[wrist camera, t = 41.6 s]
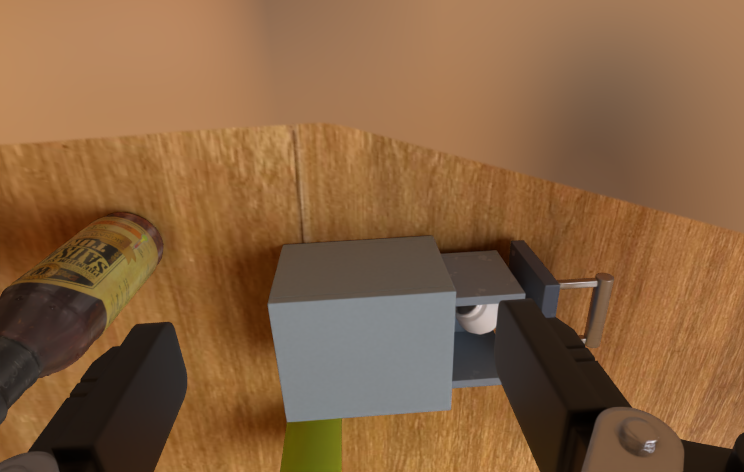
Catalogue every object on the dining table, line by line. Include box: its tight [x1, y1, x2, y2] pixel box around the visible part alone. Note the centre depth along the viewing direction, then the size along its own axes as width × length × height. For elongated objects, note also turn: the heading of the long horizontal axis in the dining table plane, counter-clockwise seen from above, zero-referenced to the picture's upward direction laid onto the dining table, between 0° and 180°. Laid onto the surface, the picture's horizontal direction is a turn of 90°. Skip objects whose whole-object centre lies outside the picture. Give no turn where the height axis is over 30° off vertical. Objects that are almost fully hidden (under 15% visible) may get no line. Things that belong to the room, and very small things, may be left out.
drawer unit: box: [267, 236, 456, 422], centre depth 40 cm, size 14×12×10 cm
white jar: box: [455, 304, 499, 334], centre depth 39 cm, size 5×3×5 cm, turn 148°
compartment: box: [441, 240, 614, 388], centre depth 40 cm, size 19×10×8 cm, turn 92°
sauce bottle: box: [0, 212, 163, 424], centre depth 31 cm, size 7×6×20 cm
